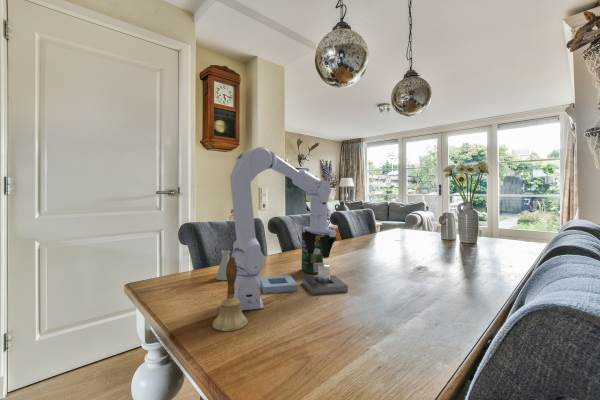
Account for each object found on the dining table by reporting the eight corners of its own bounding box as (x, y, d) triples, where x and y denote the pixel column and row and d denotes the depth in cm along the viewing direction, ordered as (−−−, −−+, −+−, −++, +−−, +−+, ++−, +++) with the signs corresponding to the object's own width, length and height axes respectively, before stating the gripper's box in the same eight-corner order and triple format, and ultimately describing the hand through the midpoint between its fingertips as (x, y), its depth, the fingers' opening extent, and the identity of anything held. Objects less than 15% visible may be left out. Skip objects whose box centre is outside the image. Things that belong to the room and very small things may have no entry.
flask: (238, 275, 108) (238, 249, 108) (231, 281, 101) (231, 253, 101) (219, 275, 109) (219, 248, 109) (211, 280, 102) (212, 252, 102)
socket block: (347, 291, 92) (347, 285, 92) (312, 294, 89) (312, 288, 89) (333, 280, 103) (334, 275, 103) (302, 282, 100) (302, 277, 100)
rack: (297, 290, 92) (297, 284, 92) (263, 293, 89) (263, 287, 89) (290, 280, 103) (290, 275, 103) (259, 282, 100) (259, 277, 100)
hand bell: (233, 313, 75) (234, 252, 74) (255, 322, 69) (255, 257, 69) (205, 324, 68) (205, 257, 68) (226, 335, 63) (227, 263, 63)
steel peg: (331, 288, 95) (331, 266, 94) (320, 289, 94) (320, 266, 93) (327, 285, 98) (327, 263, 98) (316, 285, 97) (316, 263, 97)
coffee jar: (299, 268, 119) (299, 224, 119) (316, 267, 122) (317, 224, 121) (306, 275, 110) (307, 227, 110) (325, 273, 112) (326, 226, 112)
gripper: (342, 216, 93) (342, 257, 94) (313, 213, 105) (312, 250, 105) (327, 217, 89) (326, 260, 89) (298, 214, 100) (297, 253, 100)
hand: (318, 255), depth 97 cm, fingers open, 7 cm apart
